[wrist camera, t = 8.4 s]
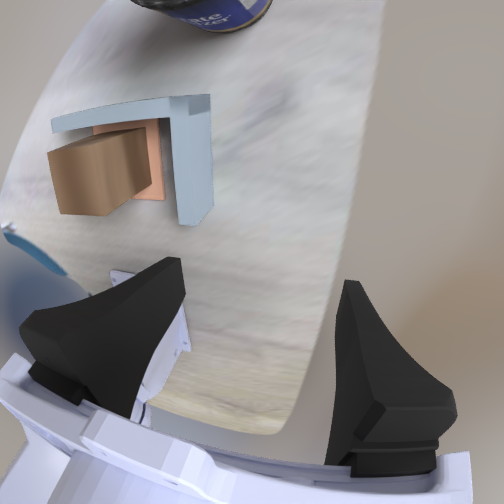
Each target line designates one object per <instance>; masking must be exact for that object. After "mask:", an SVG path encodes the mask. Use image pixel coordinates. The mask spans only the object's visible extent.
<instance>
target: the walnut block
mask: <svg viewBox="0 0 504 504" xmlns="http://www.w3.org/2000/svg"><path fill="white" fill-rule="evenodd" d="M47 155H48V160H49V166H50V171H51V176H52V181H53V185H54V190H55V194H56V198H57V202H58V206H59V210H60V214H70V215H92V216H106V215H108V214H109V213H111V212H112V211H113V210H115V209H116V208H117V207H119V206H120V205H122V204H123V203H125V202H126V201H127V200H129V199H130V198H132V197H133V196H135V195H136V194H138V193H139V192H141V191H142V190H144V189H145V188H147V187H148V186H150V185H151V184H152V179H151V171H150V163H149V155H148V145H147V135H146V127H141V128H133V129H125V130H117V131H110V132H104V133H99V134H96V135H93V136H90V137H87V138H84V139H82V140H79V141H76V142H73V143H71V144H68V145H65V146H63V147H60V148H58V149H55V150H53V151H50V152H48V153H47Z"/></svg>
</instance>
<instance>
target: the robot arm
mask: <svg viewBox="0 0 504 504" xmlns="http://www.w3.org/2000/svg"><path fill="white" fill-rule="evenodd" d="M109 274H110V278H111V281H112V285H113V287H112V288H110V289H108V290H106V291H104V292H101V293H99V294H97V295H94V296H91V297H88V298H86V299H83V300H80V301H77V302H74V303H70V304H66V305H62V306H58V307H54V308H48V309H42V310H35V311H34V312H33V313H32V314H31V315H30V316H29V317H28V318H27V319H26V320H25V321H24V322H23V323H22V324H21V326H20V327H19V331H20V335H21V338H22V340H23V341H24V343H25V345H26V346H27V348H28V349H29V351H30V352H31V354H32V355H33V357H34V358H35V360H36V361H35V363H34V364H33V365H32V364H31V363H30V362H29V361H28V360H26V359H25V358H23V357H22V356H20V355H19V354H17V353H14V354H13V355H12V357H11V358H10V359H9V361H8V362H7V363H6V364H5V365H4V367H3V368H2V369H1V370H0V402H1V403H2V404H3V405H4V406H5V407H6V408H7V409H8V410H9V411H10V412H11V413H12V414H13V415H14V416H15V417H16V418H17V419H18V420H19V421H21V424H22V426H23V429H24V432H25V434H26V437H27V439H26V441H25V442H24V444H23V445H22V447H21V449H20V450H19V451H18V453H17V454H16V456H15V458H14V459H13V461H12V462H11V464H10V465H9V467H8V468H7V470H6V471H5V473H4V475H3V476H2V478H1V479H0V504H473V493H472V477H471V466H470V457H469V451H461V452H455V453H448V454H443V455H440V456H437V457H436V454H435V450H437V449H438V447H439V441H438V438H439V437H440V436H441V435H442V434H443V433H445V432H446V431H447V430H448V429H449V428H450V427H451V426H452V424H453V423H454V422H455V421H456V418H457V410H456V404H455V399H454V396H453V393H452V390H451V389H449V388H448V387H447V386H445V385H444V384H442V383H441V382H440V381H438V380H437V379H436V378H434V377H433V376H432V375H431V374H429V373H428V372H427V371H426V370H424V368H422V367H421V366H420V365H419V364H418V363H417V362H416V361H415V360H414V359H413V358H412V357H411V356H410V355H409V354H408V353H407V352H406V351H405V350H404V349H403V348H402V346H401V345H400V344H399V343H398V342H397V341H396V339H395V338H394V337H393V336H392V334H391V333H390V332H389V330H388V329H387V327H386V326H385V324H384V323H383V321H382V320H381V318H380V317H379V315H378V313H377V312H376V310H375V308H374V307H373V305H372V303H371V302H370V300H369V298H368V296H367V295H366V293H365V291H364V289H363V287H362V285H361V283H360V282H359V281H353V280H345V281H344V286H343V290H342V295H341V299H340V303H339V307H338V311H337V315H336V327H335V354H336V392H335V402H334V410H333V418H332V425H331V431H330V437H329V444H328V449H327V454H326V458H325V463H324V465H316V464H306V463H296V462H288V461H281V460H274V459H268V458H262V457H256V456H251V455H245V454H241V453H236V452H232V451H227V450H223V449H219V448H215V447H211V446H207V445H203V444H200V443H196V442H193V441H189V440H186V439H183V438H179V437H176V436H173V435H170V434H167V433H164V432H161V431H158V430H155V429H153V428H150V424H151V408H150V405H149V404H148V403H147V402H145V401H147V400H149V399H151V398H153V397H155V396H156V395H157V394H158V393H159V392H160V391H161V390H162V388H163V387H164V385H165V383H166V381H167V379H168V377H169V375H170V373H171V371H172V369H173V367H174V365H175V363H176V361H177V359H178V357H179V355H180V353H181V351H186V352H190V351H191V348H192V347H191V343H190V338H189V333H188V328H187V323H186V318H185V312H184V307H183V299H184V297H185V294H186V292H185V286H184V280H183V273H182V266H181V260H180V258H175V257H166V258H164V259H162V260H161V261H159V262H157V263H155V264H153V265H152V266H150V267H148V268H147V269H145V270H143V271H142V272H140V273H138V274H132V273H126V272H121V271H116V270H112V271H111V272H110V273H109Z"/></svg>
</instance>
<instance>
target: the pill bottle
mask: <svg viewBox="0 0 504 504" xmlns="http://www.w3.org/2000/svg"><path fill="white" fill-rule="evenodd" d="M131 1H132V2H134V3H135V4H138V5H140V6H142V7H146V8H149V9H152V10H155V11H158V12H160V13H163V14H166V15H168V16H171V17H174V18H176V19H179V20H181V21H184V22H187V23H189V24H191V25H194V26H196V27H198V28H200V29H203V30H206V31H210V32H215V33H228V32H234V31H237V30H239V29H241V28H243V27H248V26H250V25H252V24H254V23H255V22H257V21H258V20H259V19H261V17H262V16H264V15H265V13H266V12H267V11H268V9H269V7H270V5H271V3H272V0H131Z"/></svg>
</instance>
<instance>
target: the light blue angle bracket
mask: <svg viewBox="0 0 504 504" xmlns="http://www.w3.org/2000/svg"><path fill="white" fill-rule="evenodd" d="M164 117H170V125H171V141H172V155H173V168H174V180H175V191H176V201H177V210H178V219H179V225H189V226H196V225H197V224H198V223H199V222H200V221H201V220H202V219H203V217H204V216H205V215H206V214H207V213H208V212H209V211H210V209H211V208H212V207H213V206H214V200H213V178H212V153H211V120H210V94H200V95H185V96H174V97H164V98H155V99H147V100H139V101H133V102H126V103H120V104H114V105H109V106H103V107H98V108H93V109H88V110H84V111H79V112H75V113H71V114H67V115H64V116H60V117H56V118H53V119H51V125H52V134H53V133H58V132H63V131H68V130H73V129H78V128H84V127H90V126H92V130H93V135H96V134H99V133H104V132H110V131H117V130H125V129H133V128H141V127H146V135H147V145H148V155H149V163H150V171H151V179H152V184H151V185H150V186H148V187H147V188H145V189H144V190H142V191H141V192H139V193H138V194H136V195H135V196H133V197H132V198H130V199H151V200H165V199H166V196H165V187H164V178H163V167H162V156H161V144H160V130H159V118H164Z"/></svg>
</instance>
